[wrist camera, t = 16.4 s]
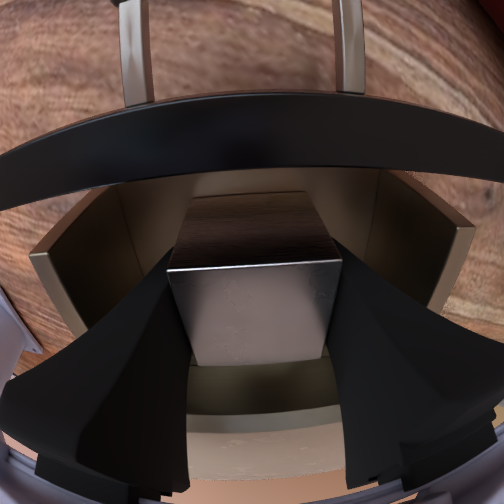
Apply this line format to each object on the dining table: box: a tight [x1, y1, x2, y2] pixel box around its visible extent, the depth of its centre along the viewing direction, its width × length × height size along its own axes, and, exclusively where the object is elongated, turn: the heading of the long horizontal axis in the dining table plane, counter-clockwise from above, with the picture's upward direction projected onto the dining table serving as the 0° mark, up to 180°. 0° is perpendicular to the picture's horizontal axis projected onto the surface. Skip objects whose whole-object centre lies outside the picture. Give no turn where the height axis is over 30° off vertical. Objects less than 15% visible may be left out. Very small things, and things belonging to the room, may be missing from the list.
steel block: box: [166, 192, 343, 367], centre depth 9 cm, size 4×4×4 cm
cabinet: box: [187, 404, 345, 481], centre depth 16 cm, size 16×14×8 cm
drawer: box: [0, 0, 504, 415], centre depth 9 cm, size 19×12×6 cm, turn 3°
